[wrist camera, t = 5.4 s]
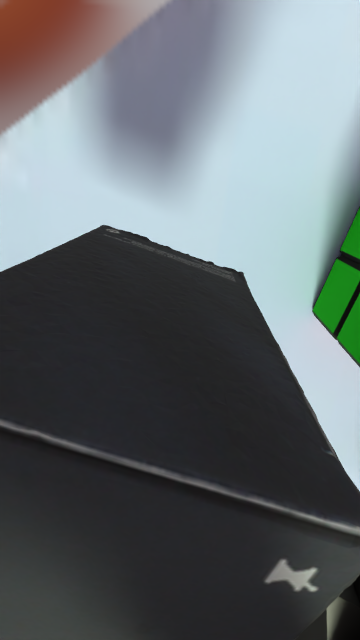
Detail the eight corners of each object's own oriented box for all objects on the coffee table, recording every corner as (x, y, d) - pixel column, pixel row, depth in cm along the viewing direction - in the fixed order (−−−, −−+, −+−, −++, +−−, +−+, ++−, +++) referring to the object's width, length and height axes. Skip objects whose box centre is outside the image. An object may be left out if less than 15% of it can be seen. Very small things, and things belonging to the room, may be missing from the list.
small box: (91, 215, 12) (-297, 331, 2) (249, 272, 13) (441, 540, 3) (43, 422, 16) (-178, 783, 6) (165, 457, 17) (135, 829, 7)
